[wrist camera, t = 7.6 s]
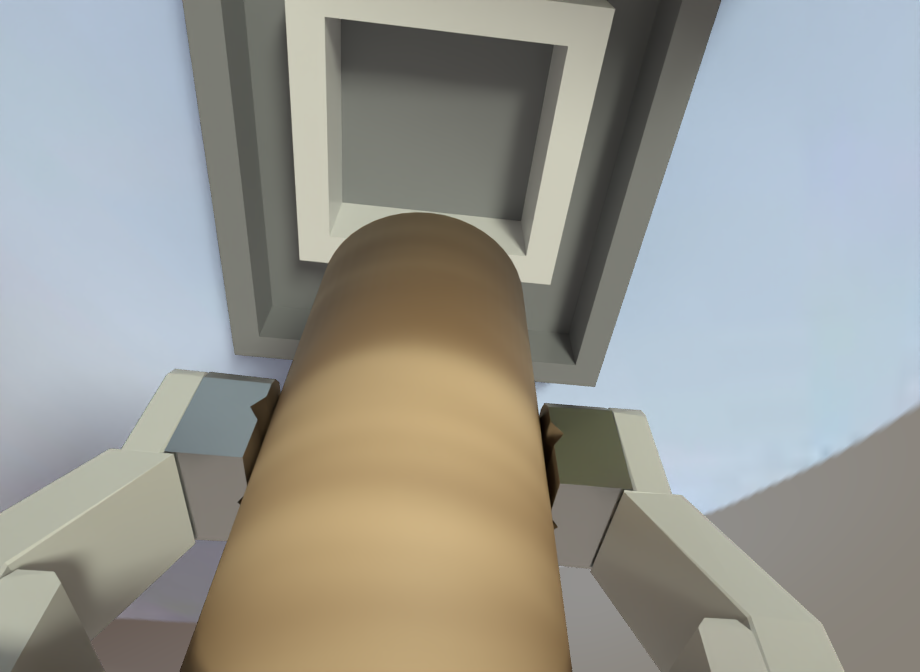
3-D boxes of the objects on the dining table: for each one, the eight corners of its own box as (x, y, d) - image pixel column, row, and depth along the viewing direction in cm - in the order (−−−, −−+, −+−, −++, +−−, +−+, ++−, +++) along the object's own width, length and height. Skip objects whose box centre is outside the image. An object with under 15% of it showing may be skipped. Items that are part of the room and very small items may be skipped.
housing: (187, -295, 15) (122, -331, 12) (745, -212, 16) (804, -229, 13) (256, 309, 26) (231, 363, 23) (583, 340, 27) (597, 395, 24)
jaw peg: (319, 201, 11) (108, 659, 5) (540, 224, 11) (636, 692, 5) (323, 371, 13) (190, 830, 7) (506, 388, 14) (540, 847, 7)
